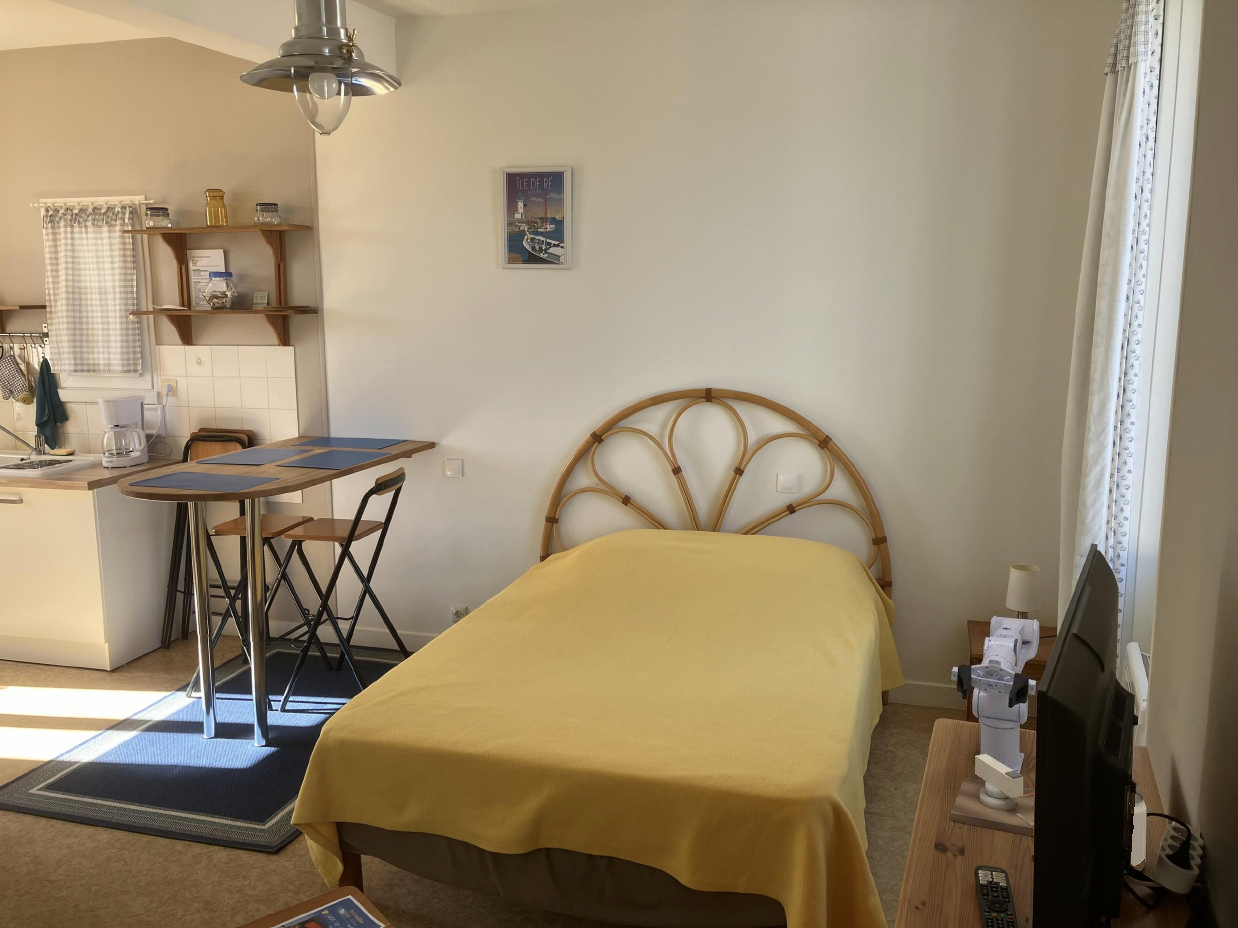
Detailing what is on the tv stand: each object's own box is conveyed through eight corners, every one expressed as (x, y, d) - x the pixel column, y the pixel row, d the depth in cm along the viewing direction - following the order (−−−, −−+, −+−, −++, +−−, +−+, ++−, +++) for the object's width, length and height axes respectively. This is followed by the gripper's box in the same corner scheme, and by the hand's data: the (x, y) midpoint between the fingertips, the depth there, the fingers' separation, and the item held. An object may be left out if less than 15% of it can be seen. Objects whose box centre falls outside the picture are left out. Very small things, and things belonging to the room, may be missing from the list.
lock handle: (970, 782, 176) (970, 755, 176) (990, 778, 178) (990, 751, 177) (1006, 806, 167) (1007, 778, 166) (1027, 802, 168) (1028, 773, 167)
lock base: (964, 784, 182) (964, 769, 182) (1043, 797, 176) (1044, 782, 175) (951, 820, 169) (951, 804, 169) (1036, 837, 163) (1036, 820, 162)
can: (1150, 876, 150) (1152, 805, 148) (1106, 874, 151) (1107, 802, 149) (1137, 854, 156) (1139, 785, 154) (1094, 852, 157) (1096, 783, 156)
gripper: (957, 643, 184) (946, 670, 172) (1039, 656, 178) (1032, 685, 166) (955, 677, 186) (944, 706, 174) (1036, 691, 179) (1030, 722, 167)
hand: (987, 698), depth 170 cm, fingers open, 7 cm apart
